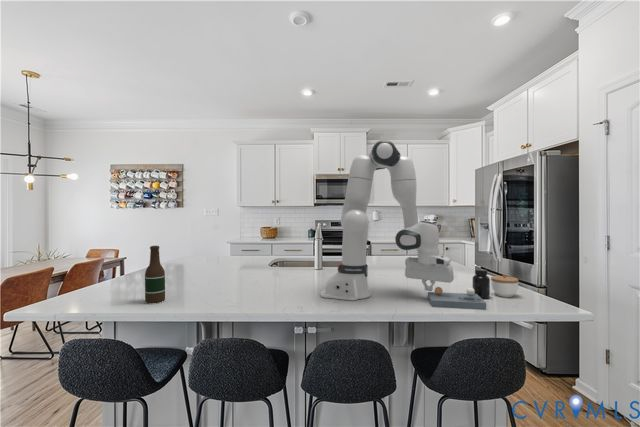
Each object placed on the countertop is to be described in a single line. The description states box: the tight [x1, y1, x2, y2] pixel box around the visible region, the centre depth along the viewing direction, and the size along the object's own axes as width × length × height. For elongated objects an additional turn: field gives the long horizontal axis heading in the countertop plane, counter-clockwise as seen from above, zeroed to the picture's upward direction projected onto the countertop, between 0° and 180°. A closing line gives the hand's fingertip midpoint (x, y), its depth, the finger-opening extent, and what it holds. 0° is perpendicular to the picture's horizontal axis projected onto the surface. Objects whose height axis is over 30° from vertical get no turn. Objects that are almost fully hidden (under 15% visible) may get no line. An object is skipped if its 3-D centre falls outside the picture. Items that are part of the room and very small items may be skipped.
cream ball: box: [466, 287, 475, 295], centre depth 136 cm, size 3×3×3 cm
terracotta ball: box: [434, 286, 444, 295], centre depth 137 cm, size 3×3×3 cm
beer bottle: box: [144, 245, 166, 304], centre depth 139 cm, size 8×8×24 cm
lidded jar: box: [490, 273, 520, 298], centre depth 145 cm, size 11×11×9 cm
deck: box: [427, 291, 487, 310], centre depth 133 cm, size 20×14×2 cm
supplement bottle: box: [472, 268, 491, 300], centre depth 142 cm, size 7×7×12 cm
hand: (428, 290), depth 140 cm, fingers closed
